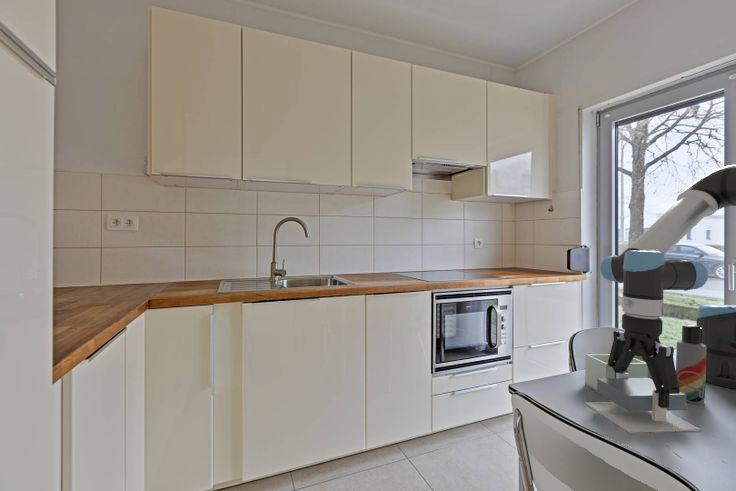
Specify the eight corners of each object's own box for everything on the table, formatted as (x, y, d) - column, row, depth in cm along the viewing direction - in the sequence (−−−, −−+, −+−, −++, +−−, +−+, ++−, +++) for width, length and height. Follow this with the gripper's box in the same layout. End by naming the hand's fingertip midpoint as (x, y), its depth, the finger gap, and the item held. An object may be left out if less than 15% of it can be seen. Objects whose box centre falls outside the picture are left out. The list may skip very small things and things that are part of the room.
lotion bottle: (694, 406, 86) (697, 328, 86) (669, 396, 91) (672, 322, 91) (710, 403, 87) (712, 327, 87) (684, 393, 93) (686, 322, 93)
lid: (648, 391, 85) (648, 377, 85) (685, 410, 76) (686, 394, 76) (597, 392, 84) (597, 378, 84) (628, 411, 75) (629, 395, 75)
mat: (647, 402, 87) (647, 401, 87) (700, 430, 74) (700, 429, 74) (585, 403, 86) (585, 402, 86) (628, 432, 73) (628, 431, 73)
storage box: (623, 384, 98) (624, 354, 98) (647, 396, 91) (648, 363, 91) (584, 385, 97) (585, 354, 97) (605, 397, 90) (606, 364, 90)
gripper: (592, 306, 91) (590, 388, 91) (672, 327, 69) (669, 436, 69) (618, 306, 91) (616, 388, 92) (706, 327, 69) (703, 435, 70)
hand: (639, 408), depth 80 cm, fingers closed on lid, 9 cm apart
